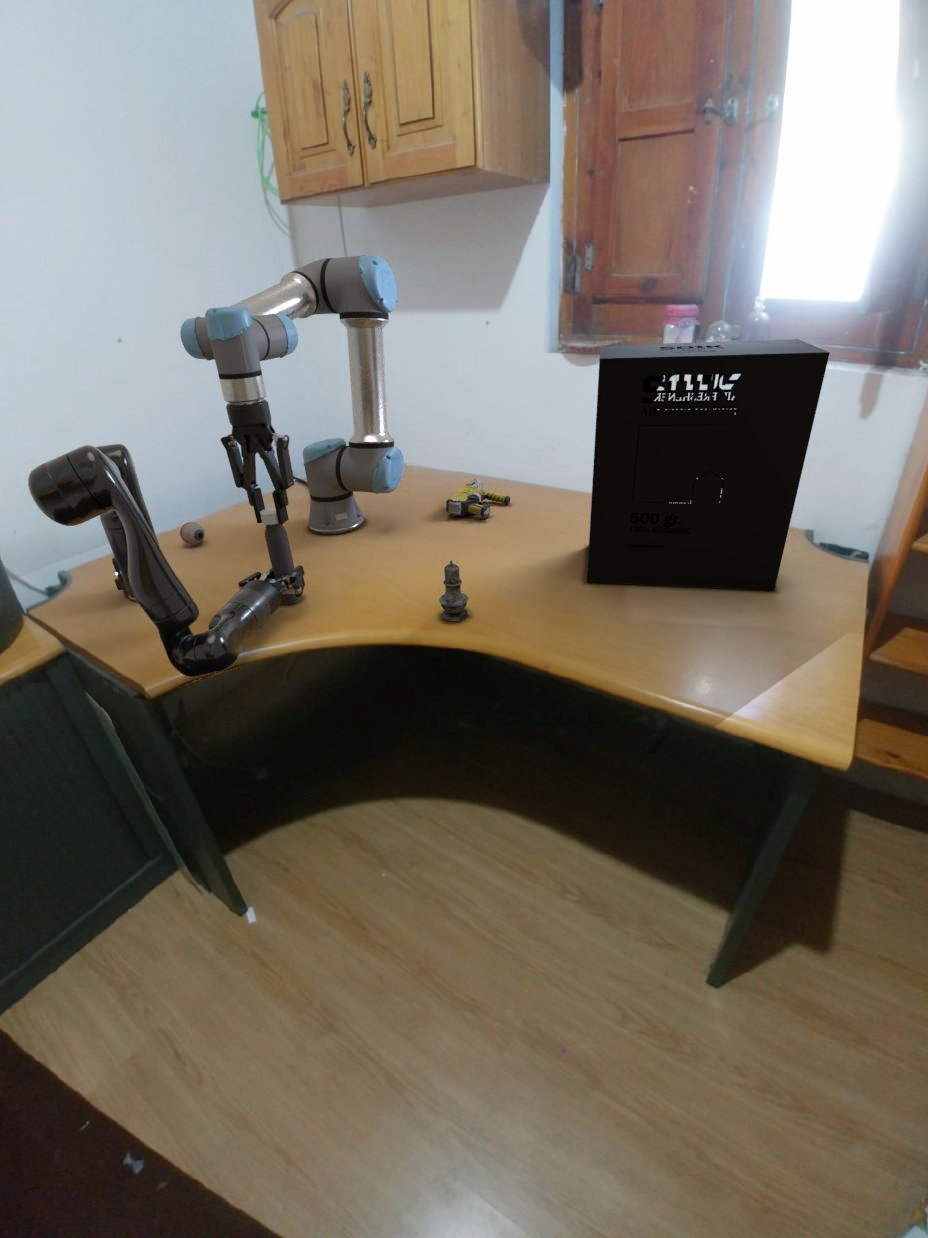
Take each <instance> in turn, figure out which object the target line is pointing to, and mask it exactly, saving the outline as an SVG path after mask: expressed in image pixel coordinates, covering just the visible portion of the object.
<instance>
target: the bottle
mask: <svg viewBox="0 0 928 1238" xmlns="http://www.w3.org/2000/svg"><path fill="white" fill-rule="evenodd" d="M264 539H265V542H266V548H267V552H268V555H269V560H270V565H271V568H272V569H273V573H274V578H275V579H277V578H279V577H280V576H282V575H288V574H290V573H292V571H293V570H294V569H295V568H296V567H295V563H294V558H293V554H292V549H291V544H290V540H289V534H288V531H287V529H286V527H285V526H284V524H279V523H278V524H273V525H265V529H264ZM290 582H292V578H291V579H290ZM301 600H302V596H300V597H296V595H295V594H288V596H287V597H285V598H283V599H281V602H280V604H281V605H284V606H290V605H295V604H296V603H299V602H300V601H301Z"/></svg>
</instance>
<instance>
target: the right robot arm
mask: <svg viewBox="0 0 928 1238" xmlns="http://www.w3.org/2000/svg"><path fill="white" fill-rule="evenodd" d="M397 303H398V287H397V283H396V277H395V275H394V273H393V271H392V269H391V267H390V265H389V263H388V262H387V261H386V260H385V258H382V257H381V256H379V255H366V254H360V255H352V256H342V257H327V258H326V257H325V258H320V259H318V260H314V261H312V262H309V263H307V264H305V265H303V266H300V267H298V268H297V269H295V270H294V269H293V270H292V271H290V272H288V273H286V274H284V275H283V276H282V277H281V278H280V280H279V283H277V284H274V285H272V286H270V287H268V288H266V289H264V290H262V291H259V292H258V293H255V294H253V295H251V296H249V297H247V298H244V299H243V300H241V301H238V302H237V303H234V304H232V305H230V306H219V307H218V306H217V307H210V308H208V309H206V311H205V312H204V317H203V316H202V317H201V316H195V317H191V318H187V319H186V320H184V321H183V323H182V324H181V326H180V335H179V336H180V341H181V343H182V345H183V348H184V350H185V351H186V353H187V354H189V356H191V357H192V358H194V359H195V360H196V359H197V360H206V361H212V360H213V361H214V362H215V365H216V370H217V375H218V381H219V384H220V388H221V392H222V397H223V401H224V402H226V403H227V404H226V406H225V408H226V409H225V410H226V413H227V417H228V422H229V424H230V425H231V426H232V427H231V433H230V434H227V435H224V436H222V437H221V438H220V443H221V444H222V446H223V447H224V449H225V451H226V455H227V459H228V463H229V466H230V469H231V473H232V478H233V481H234V485H235V487H236V488H237V489H240V488H241V489H243V490H244V491H245V492H246V495H247V498H248V503H249V505H250V507H252V508H253V511H254V515H255V519H256V524H263V523H262V520H261V516H260V512H261V511H262V510H264V509H266V507H265V502H264V497H263V492H262V488H261V487H258V486H259V483H257V463H256V455H257V454H258V456H259V458H260V459H261V460H262V461H263V464H264V466H265V468H266V471H267V474H268V476H269V478H270V482H271V483H272V486H273V488H274V490H273V491H272V492H271V494H272V500H273V504H274V507H275V509H276V513H277V518H278V522H279V524H283V525H284V524H285V523H286V522H288V521H289V520H290V518H289V514H288V509H287V506H289V503H290V501H289V497H288V492H287V490H288V489H290V488H291V487H293V486H294V485H295V481H298V482H300V483H302V484H304V485H306V486H308V492H309V498H310V507H309V513H308V528H309V529H308V530H310V531H311V532H312V533H314V534H317V535H323V536H324V535H325V536H327V535H329V536H331V535H339V534H340V535H341V534H345V533H350V532H353V531H355V530H357V529H359V528H361V527H362V526H363V525H364V523H365V519H364V514H363V512H362V510H361V508H360V505H359V504H358V501H357V500H356V498H355V495H354V492H359V493H371V494H372V493H373V494H375V495H378V494H390V493H392V492H394V491H395V490H396V489H397V488H398V486H399V485H400V482H401V481H402V478H403V474H404V466H405V459H404V455H403V452H402V450H401V449H400V448H398V447H396V446H395V438H393V436H392V435H391V434H389V431H388V427H389V426H388V409H387V406H388V405H387V390H386V388H387V387H386V368H385V345H384V344H385V343H384V328H385V327H386V326H387V325H388V323H389V322H390V321H389V320H390V318H389V314H391V313H392V312H394V311H395V309H396V307H397ZM334 314H335V315H339V316H338V317H339V322H340V323H341V324H342V326H344V327H345V329H346V337H347V338H346V339H347V350H348V352H347V353H348V368H349V381H350V382H349V384H350V394H351V410H352V411H351V412H352V413H351V414H352V425H353V427H352V428H353V433H352V435H351V436H350V437H349V438H348V441H346V439H345V438H342V437H334V438H328V439H323V440H320V441H319V440H318V441H316V442H313V443H309V444H308V445H306V446H305V447H304V448H303V450H302V457H303V458H302V460H303V467H304V471H305V477H306V480H304V479H301V478H299V477H296V476H294V474H293V473H294V471H293V468H292V462H291V456H290V455H291V454H290V451H289V446H290V445H289V444H290V436H289V435H288V434H284V435H282V434H280V433H277V432H276V430H275V429H274V427H273V425H272V415H271V414H272V413H271V410H270V409H271V408H270V405H269V402H268V401H267V399H266V397H267V391H266V387H265V380H264V375H263V371H262V365H261V362H263V361H268V360H274V359H278V358H279V359H282V358H284V357H286V356H288V355H291V354H292V353H294V352H295V350H296V349H297V347H298V344H299V334H298V330H297V328H296V325H295V323H294V322H293V320H296V319H308V318H309V317H311V316H314V315H334ZM273 442H274V445H273ZM347 442H348V443H347ZM347 444H348V445H347ZM239 446H240V447H239ZM273 446H275V449H274V447H273ZM275 451H276V453H275ZM275 454H276V455H275Z"/></svg>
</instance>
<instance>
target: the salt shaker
mask: <svg viewBox="0 0 928 1238" xmlns="http://www.w3.org/2000/svg"><path fill="white" fill-rule="evenodd" d="M443 570H444V580H443V582H442V583H443V585H444V591H445V593H444V594H442V595H441V596H440V597H439V598H438V602H439V603H440V606H441V608H442V609H443V611H442V613H441V617H442V619H444V620H445V621H448V622H449V621H450V622H459V621H463V620H465V619H466V618H467V617H468V614H469V613H468V611H467V609H466V607H467V605H468V602H469V596H468V595H467V594H466V593H463V592H462V589H461V587H462V586H461V584H462V582H463V581H462V579H461V578H460V568H459V565H457V564H455V563H454V562H453V560H450V561H449V564H447V565H445V566H444V569H443Z"/></svg>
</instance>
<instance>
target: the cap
mask: <svg viewBox="0 0 928 1238" xmlns="http://www.w3.org/2000/svg"><path fill="white" fill-rule="evenodd" d="M260 516H261V520H262V523H261V524H263V525H265V526H266V525H273V524H278V523H279V522H278V518H277V513H276V509H275V506H273V507H268V508H265V509H264V510H262V511H261V512H260Z"/></svg>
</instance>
